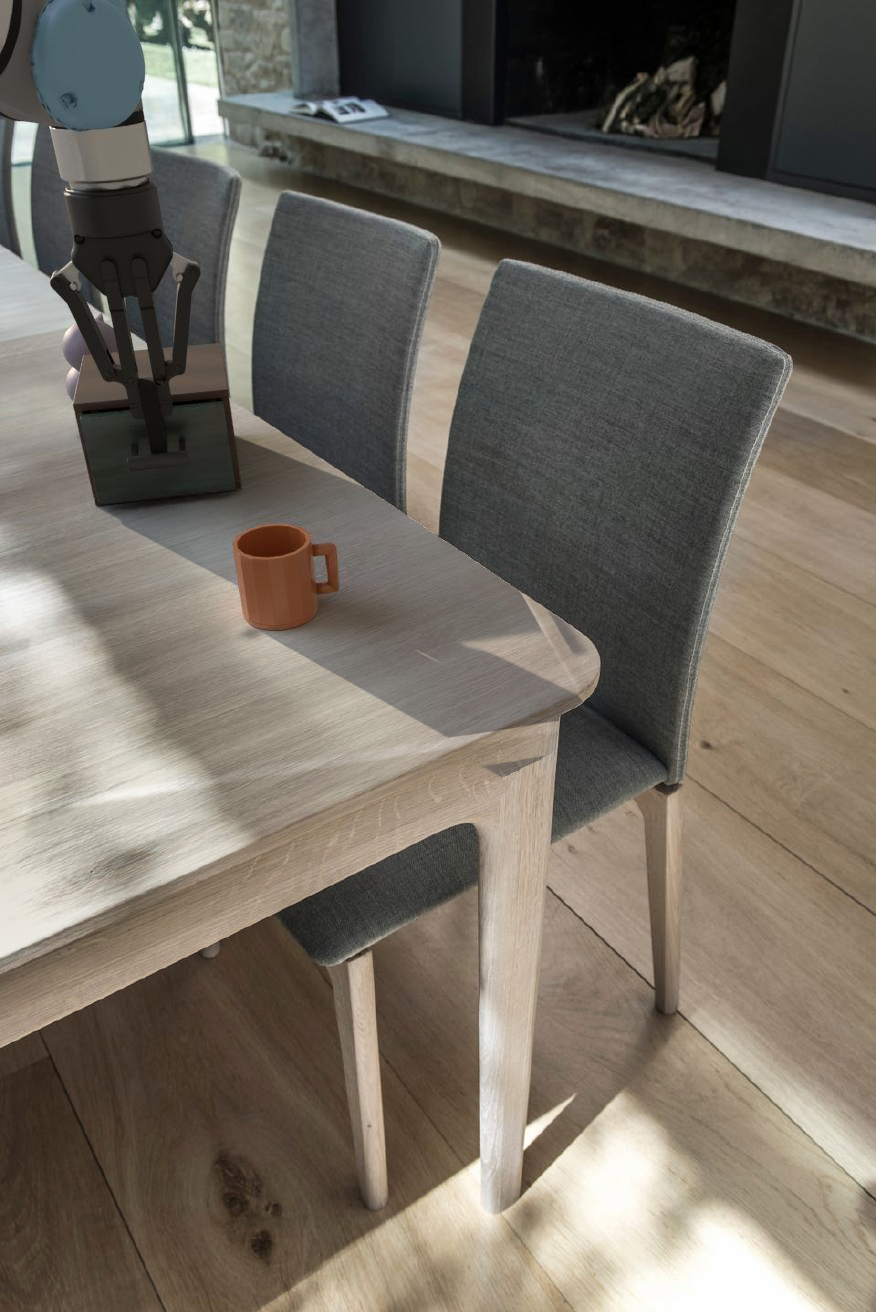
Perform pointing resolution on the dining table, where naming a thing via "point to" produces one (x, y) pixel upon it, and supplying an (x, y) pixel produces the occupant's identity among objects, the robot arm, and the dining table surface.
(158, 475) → the drawer
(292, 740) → the dining table surface
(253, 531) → the mug
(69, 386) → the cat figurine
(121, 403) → the cabinet
